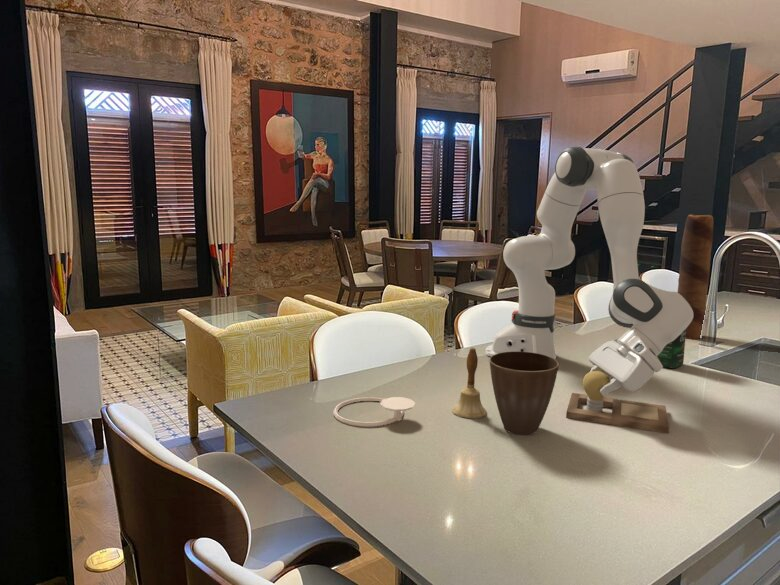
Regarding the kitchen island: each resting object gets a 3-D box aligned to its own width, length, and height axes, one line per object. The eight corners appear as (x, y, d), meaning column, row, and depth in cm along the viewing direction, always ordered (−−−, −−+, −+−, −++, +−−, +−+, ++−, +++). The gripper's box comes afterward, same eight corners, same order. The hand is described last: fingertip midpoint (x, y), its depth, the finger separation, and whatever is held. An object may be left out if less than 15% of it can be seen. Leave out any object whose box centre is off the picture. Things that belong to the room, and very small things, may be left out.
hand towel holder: (358, 380, 149) (429, 395, 139) (358, 397, 150) (429, 412, 140) (318, 400, 135) (395, 418, 124) (318, 418, 135) (394, 437, 125)
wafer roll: (670, 337, 214) (683, 214, 206) (673, 331, 223) (686, 213, 215) (702, 341, 208) (716, 215, 200) (704, 335, 217) (718, 214, 209)
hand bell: (489, 408, 142) (492, 345, 139) (483, 420, 135) (486, 354, 132) (456, 403, 145) (458, 342, 142) (448, 415, 137) (450, 351, 134)
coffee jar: (674, 371, 174) (681, 310, 170) (648, 364, 179) (654, 306, 176) (687, 364, 180) (693, 306, 177) (661, 359, 186) (667, 302, 182)
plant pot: (515, 448, 120) (519, 375, 118) (473, 422, 133) (476, 355, 131) (568, 435, 127) (573, 365, 124) (523, 411, 140) (527, 348, 137)
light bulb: (576, 406, 144) (579, 367, 142) (601, 405, 145) (604, 367, 143) (587, 416, 138) (590, 376, 136) (613, 415, 138) (616, 375, 136)
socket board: (566, 417, 137) (566, 410, 137) (571, 398, 150) (572, 391, 149) (668, 433, 129) (669, 426, 129) (664, 411, 142) (665, 404, 141)
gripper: (608, 329, 149) (568, 366, 150) (650, 351, 129) (604, 394, 130) (623, 345, 150) (584, 382, 151) (667, 370, 130) (621, 412, 131)
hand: (593, 387), depth 140 cm, fingers closed on light bulb, 6 cm apart
